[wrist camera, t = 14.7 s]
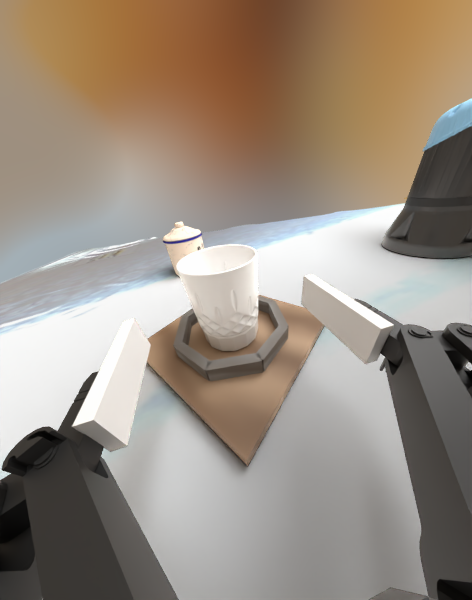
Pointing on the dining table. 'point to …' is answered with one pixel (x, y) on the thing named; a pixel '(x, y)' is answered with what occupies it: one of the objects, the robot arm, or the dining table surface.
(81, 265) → the dining table surface
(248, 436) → the ring holder
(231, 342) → the white cup
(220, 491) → the dining table surface
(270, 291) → the dining table surface
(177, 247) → the teacup with lid
